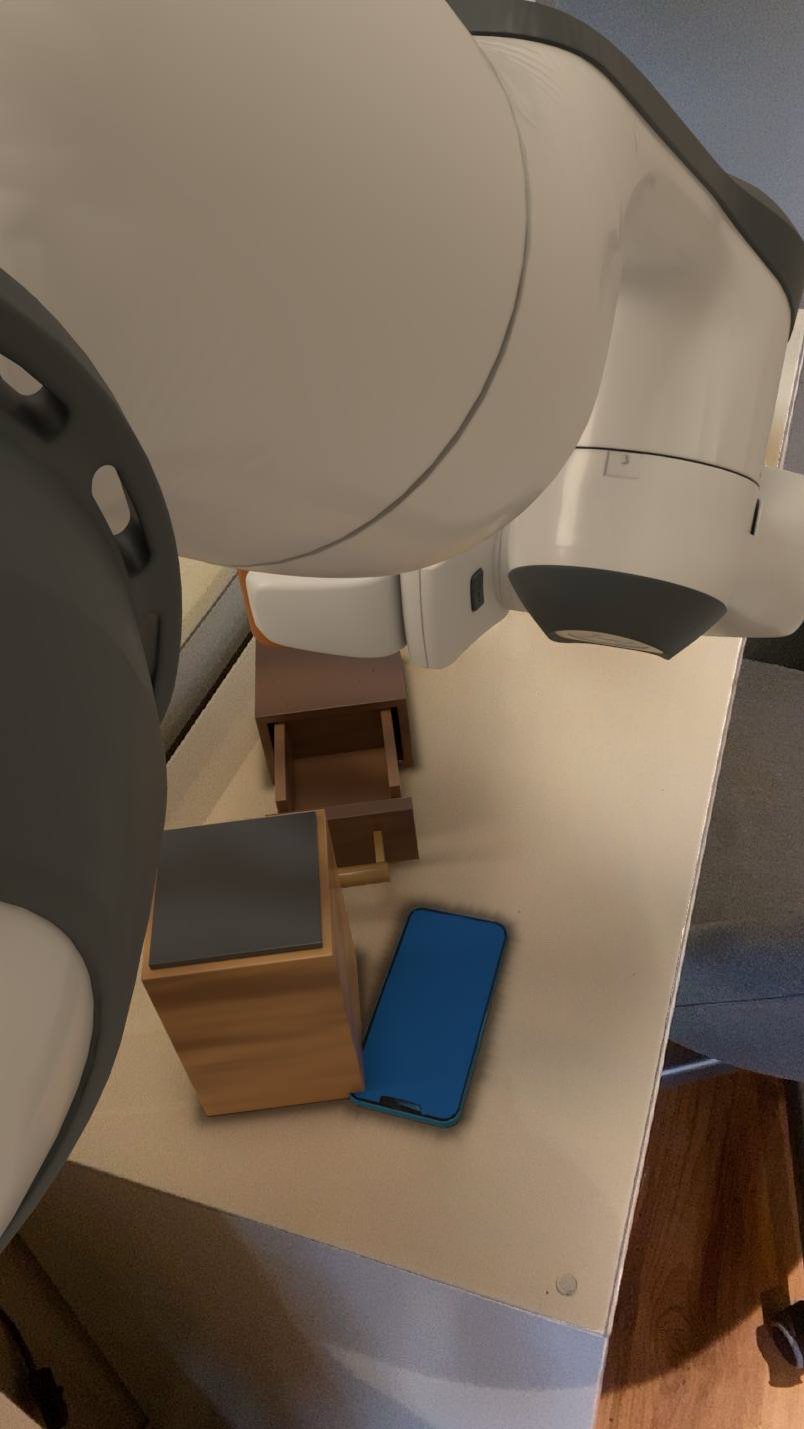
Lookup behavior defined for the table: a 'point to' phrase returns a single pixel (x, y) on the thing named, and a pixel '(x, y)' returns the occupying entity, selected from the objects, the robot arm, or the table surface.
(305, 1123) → the table surface
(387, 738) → the drawer
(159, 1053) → the table surface
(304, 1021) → the display stand
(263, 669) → the cabinet
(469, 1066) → the smartphone
